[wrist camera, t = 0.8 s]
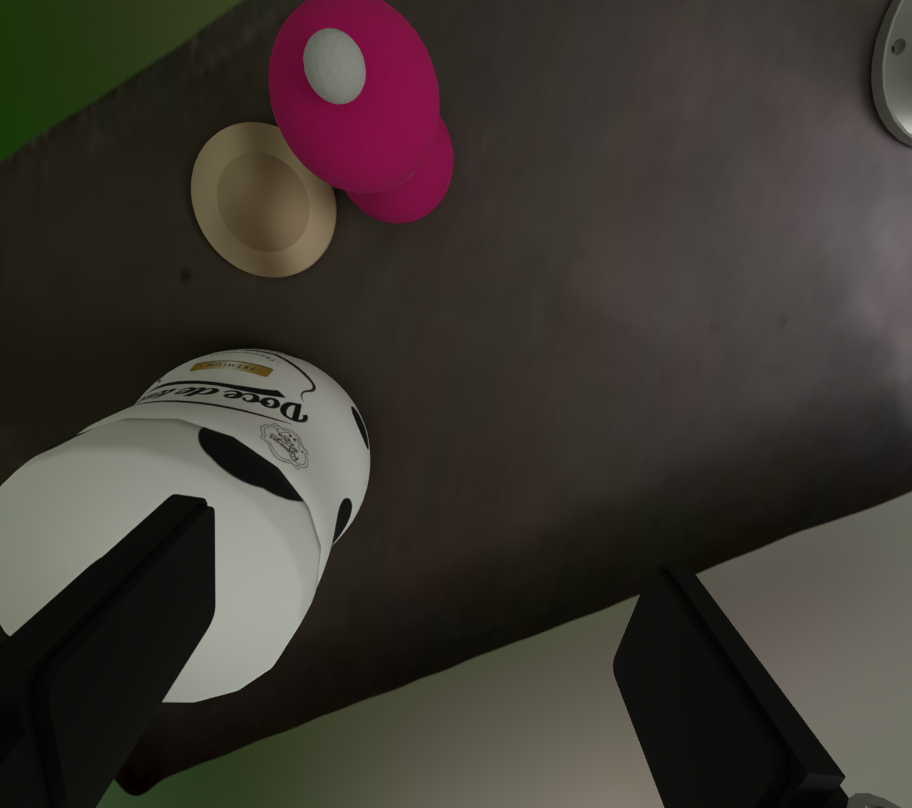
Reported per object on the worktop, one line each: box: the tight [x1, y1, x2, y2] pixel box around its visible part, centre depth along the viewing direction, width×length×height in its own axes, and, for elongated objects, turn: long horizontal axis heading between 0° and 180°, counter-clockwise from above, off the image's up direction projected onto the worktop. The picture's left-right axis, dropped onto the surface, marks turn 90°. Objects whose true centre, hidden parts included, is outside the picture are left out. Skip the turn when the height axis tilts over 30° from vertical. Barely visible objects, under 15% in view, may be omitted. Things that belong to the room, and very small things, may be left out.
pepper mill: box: [268, 0, 454, 223], centre depth 21 cm, size 7×7×20 cm
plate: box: [191, 122, 337, 277], centre depth 31 cm, size 10×10×1 cm
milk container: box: [0, 349, 370, 702], centre depth 29 cm, size 17×17×18 cm
